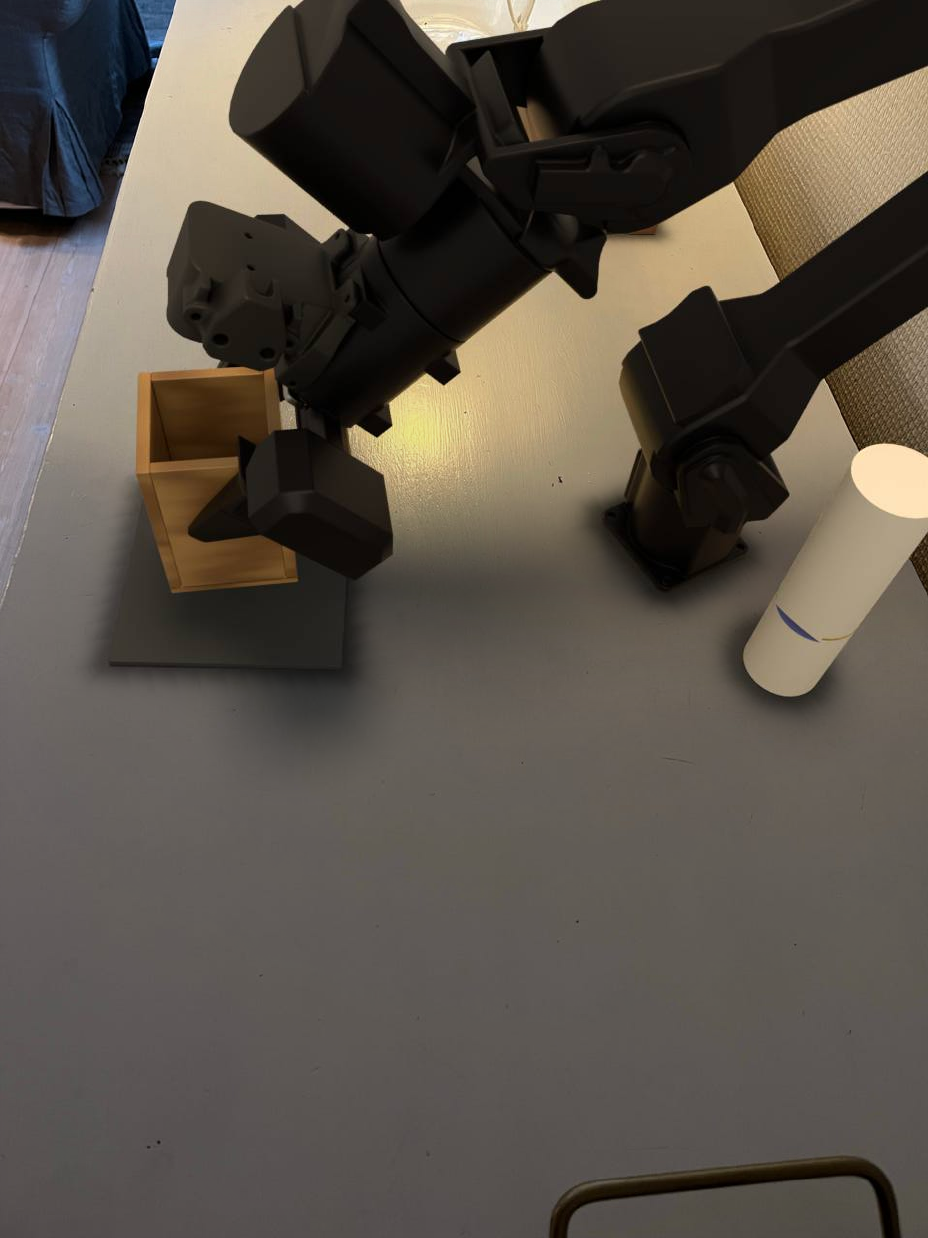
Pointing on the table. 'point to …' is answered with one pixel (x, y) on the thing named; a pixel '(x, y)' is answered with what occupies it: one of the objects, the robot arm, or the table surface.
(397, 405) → the table surface
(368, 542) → the robot arm
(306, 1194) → the table surface
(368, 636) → the table surface
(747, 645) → the tube
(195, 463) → the open wooden box
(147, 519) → the mat
